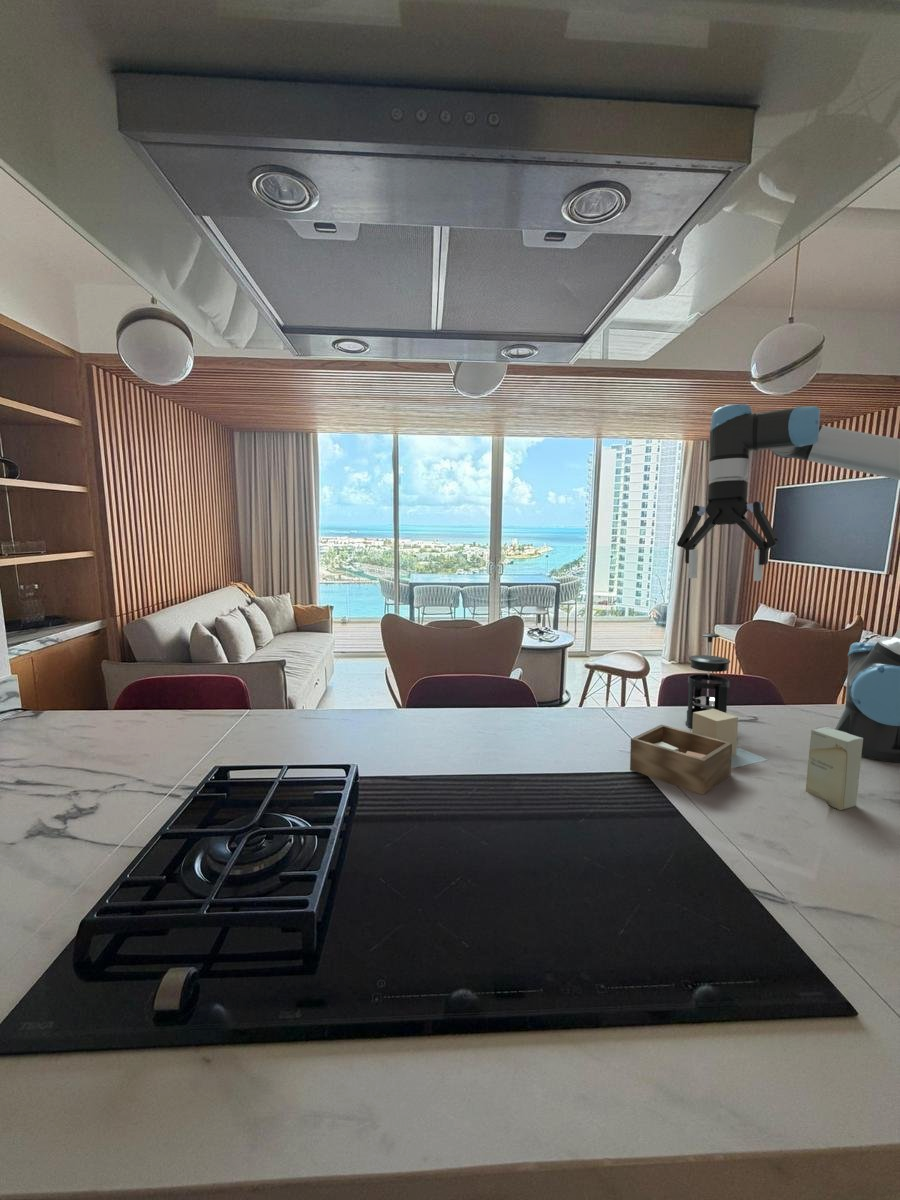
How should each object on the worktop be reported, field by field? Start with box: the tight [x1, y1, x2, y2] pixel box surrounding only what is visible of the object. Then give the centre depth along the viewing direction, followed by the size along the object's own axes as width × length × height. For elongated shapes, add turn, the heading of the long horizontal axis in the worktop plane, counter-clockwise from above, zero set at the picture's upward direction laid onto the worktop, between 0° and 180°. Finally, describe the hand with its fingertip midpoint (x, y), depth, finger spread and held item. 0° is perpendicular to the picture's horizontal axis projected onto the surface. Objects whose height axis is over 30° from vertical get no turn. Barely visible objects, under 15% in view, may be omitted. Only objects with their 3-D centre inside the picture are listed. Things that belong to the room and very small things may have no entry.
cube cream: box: [655, 742, 679, 751], centre depth 103 cm, size 4×4×4 cm
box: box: [629, 724, 732, 796], centre depth 100 cm, size 14×12×7 cm
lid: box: [691, 708, 769, 769], centre depth 110 cm, size 15×13×9 cm
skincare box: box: [805, 725, 863, 811], centre depth 90 cm, size 6×4×12 cm
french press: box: [685, 632, 731, 730], centre depth 125 cm, size 12×9×23 cm
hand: (723, 579), depth 114 cm, fingers open, 13 cm apart
